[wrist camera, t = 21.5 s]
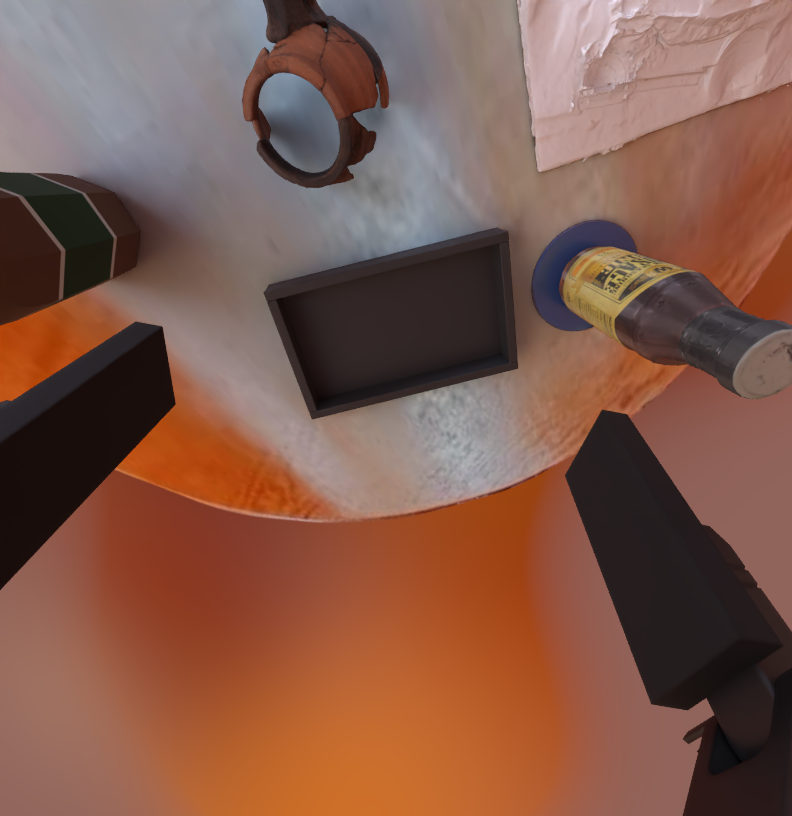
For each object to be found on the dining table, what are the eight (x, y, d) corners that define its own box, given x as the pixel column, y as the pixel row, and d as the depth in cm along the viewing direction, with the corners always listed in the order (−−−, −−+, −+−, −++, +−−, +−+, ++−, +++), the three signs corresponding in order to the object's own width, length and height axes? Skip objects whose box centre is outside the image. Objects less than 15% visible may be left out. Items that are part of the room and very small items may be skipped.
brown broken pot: (413, 137, 32) (385, 183, 27) (313, 168, 36) (273, 213, 31) (354, -92, 24) (298, -86, 19) (231, -21, 27) (158, 0, 22)
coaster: (528, 235, 36) (531, 236, 36) (638, 207, 36) (643, 208, 35) (533, 339, 41) (536, 341, 40) (630, 315, 41) (634, 317, 40)
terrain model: (480, -36, 28) (501, -75, 24) (840, -256, 24) (945, -351, 20) (541, 207, 36) (566, 211, 31) (821, 68, 32) (893, 51, 28)
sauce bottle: (620, 234, 36) (869, 283, 19) (619, 301, 39) (832, 396, 22) (548, 255, 36) (730, 323, 19) (553, 321, 40) (713, 429, 22)
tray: (268, 284, 36) (263, 292, 33) (497, 227, 35) (508, 230, 33) (313, 406, 42) (311, 419, 40) (508, 358, 42) (518, 368, 39)
